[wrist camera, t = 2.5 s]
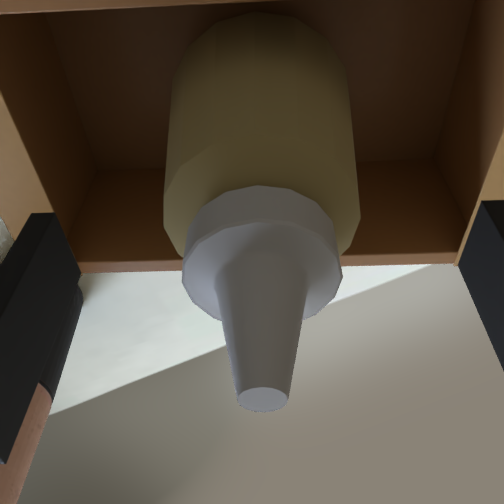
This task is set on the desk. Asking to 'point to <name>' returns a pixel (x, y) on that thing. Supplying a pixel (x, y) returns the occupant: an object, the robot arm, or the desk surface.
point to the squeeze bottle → (261, 188)
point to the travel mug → (39, 407)
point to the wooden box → (158, 114)
